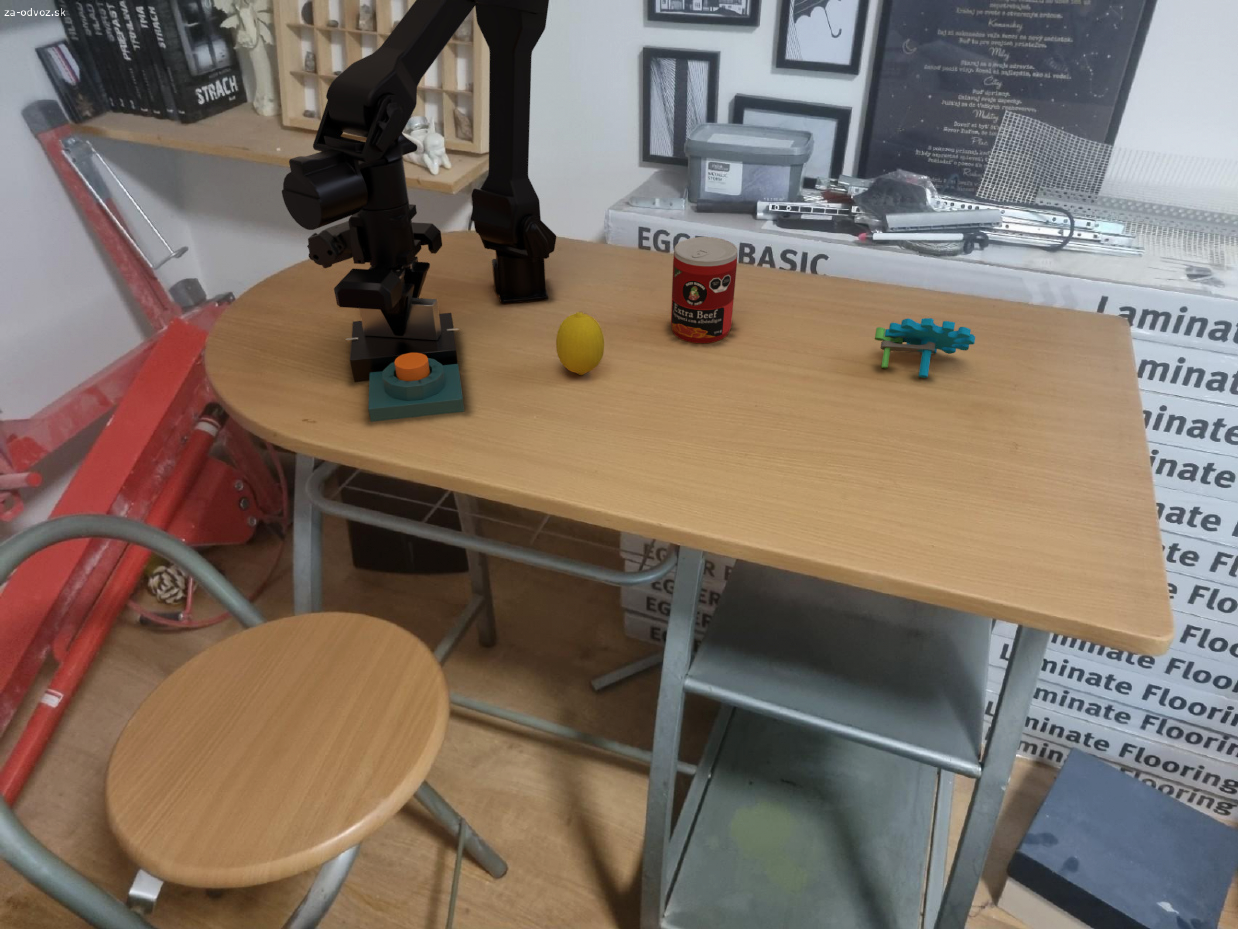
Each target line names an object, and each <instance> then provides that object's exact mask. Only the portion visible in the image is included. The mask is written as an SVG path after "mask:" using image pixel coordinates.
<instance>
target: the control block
mask: <svg viewBox="0 0 1238 929" xmlns="http://www.w3.org/2000/svg"><path fill="white" fill-rule="evenodd" d="M428 363H429V370H430V374H429V376H428V377H426V378H423V379H420V380H415V381H403V380H399V379H398V378H397V375H396V369H395V363H394V362H393V363H391V364H390V365H388V366H387V367H386V368H385V369H384V370H383V371H381V372H371V373H370V378H369V381H368V382H369V383H368V386H369V387H368V409H367V410H368V414H369V415H368V416H369V418H370V422H371V423H373V422H383V421H392V420H402V419H410V418H418V417H419V418H421V417H428V416H429V417H430V416H438V415H447V414H456V413H457V414H458V413H464V412H465V406H464V397H463V390H462V382H461V376H460V374H461V373H460V367H459V363H458V364H452V365H442V364H440V363H439V362H437V361H436V360H434V359H430V358H428Z"/></svg>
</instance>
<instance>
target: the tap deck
mask: <svg viewBox="0 0 1238 929" xmlns="http://www.w3.org/2000/svg"><path fill="white" fill-rule="evenodd" d="M439 318H440V326H441V335H440V337H439V338H438V340H423V339H409V338H394V337H380V336H365V335H364V331H363V326H362V321H361V320H355V321H352V328H351V337H348V338H345V341H346V342H350V353H349V362H350V367H351V373H352V378H353V382H354V383H361V382H369V378H370V373H371V372H381V371H383V370H384V369H385V368H386V367H387V366H388V365H390V364H391V363H393V362H395V359H396V358H397V357H399V356H401V355H403V354H407V353H421V354H424V355H426V356H427V358H430V359H434V360H436V361H437V362H439V363H440V364H442V365H452V364H458V365H459V360H458V352H457V344H456V337H455V332H457V331H460V329H459V327H456V328H454V321H453V314H452V312H445V313H439Z"/></svg>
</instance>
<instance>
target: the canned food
mask: <svg viewBox="0 0 1238 929" xmlns="http://www.w3.org/2000/svg"><path fill="white" fill-rule="evenodd" d="M738 255H739V254H738V247H737V245H735V244H734V243H733V242H731V241H728V240H726V239H723V238H718V237H710V236H698V237H691V238H687V239H684V240H682V241H679V242H678V243H677V244H675V246H674V250H673V260H672V280H671V281H672V282H671V309H670V310H671V311H670V314H671V315H670V327H671V331H672V333H673V335H674V336H676V337H677V338H679V339H680V340H682V341H684V342H688V343H691V344H692V343H693V344H711V343H716V342H718V341H722V339H724V338H726V337H727V336H728V335H729V333H730V330H731V328H732V322H733V320H732V319H733V312H734V300H735V289H736V278H737V267H738Z"/></svg>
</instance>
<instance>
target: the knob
mask: <svg viewBox="0 0 1238 929" xmlns="http://www.w3.org/2000/svg"><path fill="white" fill-rule="evenodd" d="M358 310H359V315H360V319H361V320H360V321H362V326H363V331H364V335H365V336H380V337H394V338H409V339H423V340H438V338H439V337H440V335H441V326H440V318H439V314H440V312H439V304H438V299H437V298H425V297H423V298H421V297H419V298H412V300H411V305H410V310H409V315H408V320H407V324H406V329H405V333H404V335H403V336H395V335H394V333H393V332H392V330H391V328H390V326H389V324H388V323H387V321H386V319H385V317H384V315H383V314H382V312H381V310H377V309H361V308H358Z"/></svg>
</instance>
